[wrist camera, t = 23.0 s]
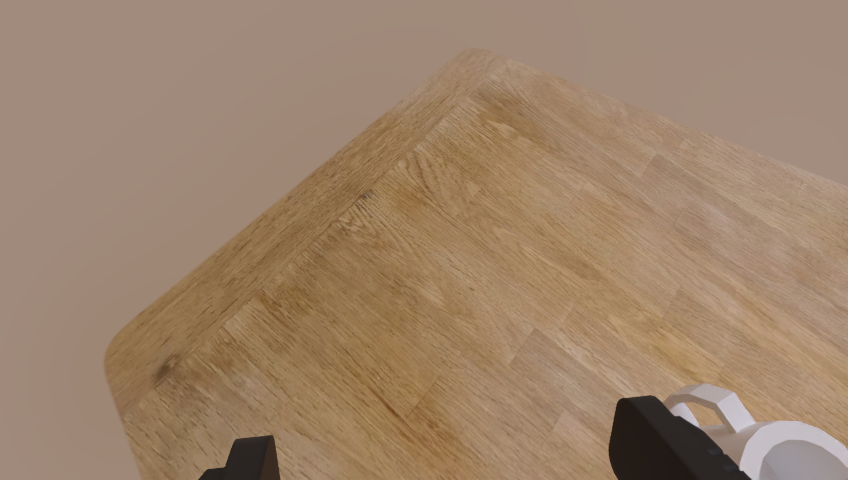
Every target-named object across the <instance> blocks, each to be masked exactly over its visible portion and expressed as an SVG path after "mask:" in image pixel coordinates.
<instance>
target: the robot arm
mask: <svg viewBox="0 0 848 480" xmlns="http://www.w3.org/2000/svg"><path fill="white" fill-rule="evenodd" d="M609 459H610V463H611V466H612V469H613V471H614V473H615V475H616V477H617V478H618V480H752V479H751V478H750V477H749V476H748V475H747V474H746V473H745V472H744V471H740V469H739V466H738V465H737V464H736V463H735V462H734V461H733V460H732V459H731V458H730V457H729V456H728V455H727V454H724V453H723V450H722V449H721V448H720V447H719V446H718V445H717V444H716V443H715V442H714V441H713V440H712V439H711V438H710V437H709V436H708V435H707V434H706V433H705V432H704V431H703V430H701V429H700V428H698V427H696V426H695V425H693V424H692V423H690V422H689V421H687V420H685V419H684V418H682V417H681V416H674V415H673V414H672V413H671V412H670V411H669V410H668V409H667V408H666V407H665V406H664V404H663V403H662V402H661V401H660V400H659V399H657V398H656V397H654V396H651V395H649V396H640V397H631V398H622V399H620V400H619V401H618V403H617V406H616V411H615V416H614V421H613V427H612V432H611V437H610V443H609ZM198 480H280V474H279V467H278V460H277V454H276V447H275V441H274V437H273V436H272V435H269V436H260V437H251V438H241V439H236V440H235V441H234V443H233V445H232V448H231V451H230V454H229V457H228V460H227V463H226V466H225V467H224V468H215V469H207V470H206V471H205V472H204V474H203V475H202V476H201V477H200V478H199V479H198Z"/></svg>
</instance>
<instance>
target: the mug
mask: <svg viewBox="0 0 848 480" xmlns="http://www.w3.org/2000/svg"><path fill="white" fill-rule="evenodd" d="M686 402H695V403H697V404H700V405H702V406H705V407H708V408H710V409H713V410H714V411H715V412H716V414H717V415H718V417H719V418H720V420H721V421H722V422H723V424H722V425H707V426H699V424H698V422H697V421H696V419H695V418H694V416H693V415H692V413H691V412H690V410H689V409H688V407H687V406H686V404H685V403H686ZM663 404H664V406H665V407H666V408H667V409H668V410H669V411H670V412H671V413H672V414H673V415H674V416H681V417H682V418H684V419H685V420H687V421H689V422H690V423H692V424H693V425H695V426H696V427H698V428H700V429H701V430H703V431H704V432H705V433H706V434H707V435H708V436H709V437H710V438H711V439H712V440H713V441H714V442H715V443H716V444H717V445H718V446H719V447H720V448H721V449H722V450H723V453H724V454H727V455H728V456H729V457H730V458H731V459H732V460H733V461H734V462H735V463H736V464H737V465H738V466H739V469H740V471H744V472H745V473H746V474H747V475H748V476H749V477H750V478H751V479H752V480H848V449H847V448H846V447H845V446H844V445H843V444H842V443H840V442H839V441H837V440H836V439H834V438H833V437H831V436H830V435H828V434H827V433H826V432H824V431H823V430H821V429H819V428H816V427H813V426H810V425H808V424H805V423H802V422H799V421H767V422H755V421H754V419H753V418H752V417H751V415H750V414H749V412H748V411H747V410H746V408H745V407H744V406H743V404H742V403H741V401H740V400H739V399H738V397H737V396H736V394H735V393H734V392H732V391H729V390H725V389H722V388H719V387H716V386H713V385H710V384H707V383H702V384H695V385H687V386H685V387H683V388H681V389H680V390H678V391H677V392H675V393H673V394H672V395H670V396H669V397H668V398H667V399H666V400H665V401H664V402H663Z"/></svg>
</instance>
